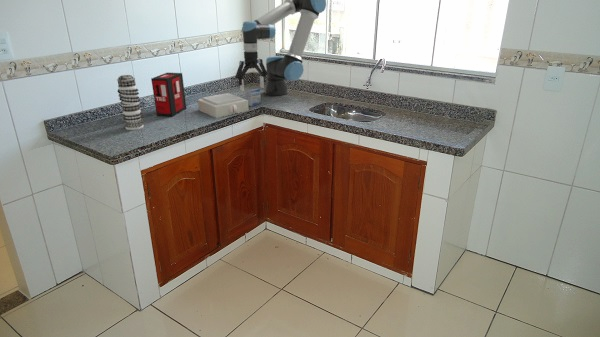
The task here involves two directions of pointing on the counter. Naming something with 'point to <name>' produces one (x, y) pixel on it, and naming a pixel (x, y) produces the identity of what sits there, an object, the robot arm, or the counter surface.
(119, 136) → the counter surface
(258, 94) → the medicine box
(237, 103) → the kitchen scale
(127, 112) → the striped tower model
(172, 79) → the cleaning product box
